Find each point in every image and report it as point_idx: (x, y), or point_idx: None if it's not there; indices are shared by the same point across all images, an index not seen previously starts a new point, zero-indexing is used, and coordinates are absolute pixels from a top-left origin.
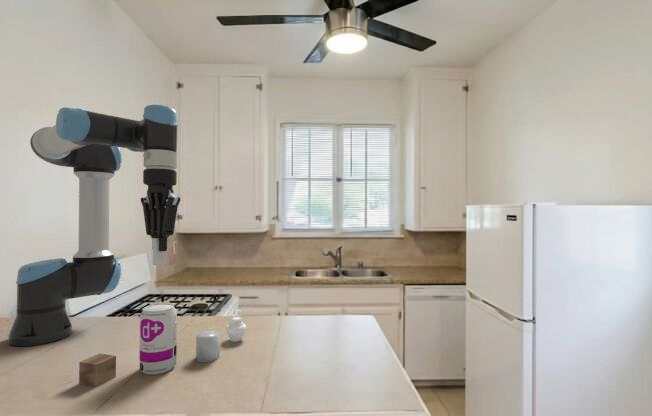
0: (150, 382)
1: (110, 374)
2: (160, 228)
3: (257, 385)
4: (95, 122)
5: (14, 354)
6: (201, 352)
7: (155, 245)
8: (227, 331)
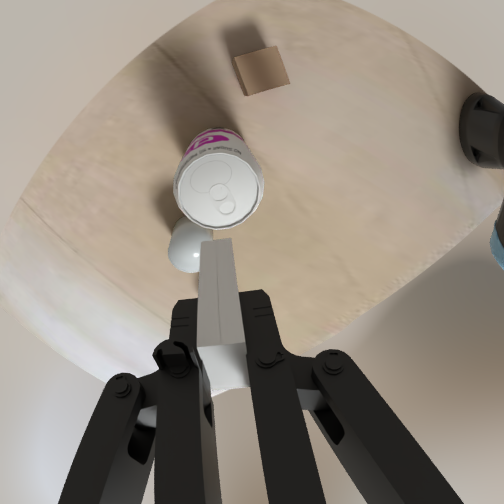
0: (174, 124)
1: (241, 85)
2: (157, 424)
3: (63, 226)
4: None
5: (453, 74)
6: (182, 223)
7: (208, 308)
8: None
